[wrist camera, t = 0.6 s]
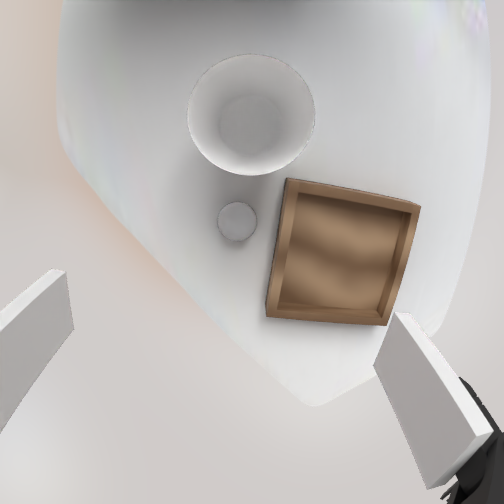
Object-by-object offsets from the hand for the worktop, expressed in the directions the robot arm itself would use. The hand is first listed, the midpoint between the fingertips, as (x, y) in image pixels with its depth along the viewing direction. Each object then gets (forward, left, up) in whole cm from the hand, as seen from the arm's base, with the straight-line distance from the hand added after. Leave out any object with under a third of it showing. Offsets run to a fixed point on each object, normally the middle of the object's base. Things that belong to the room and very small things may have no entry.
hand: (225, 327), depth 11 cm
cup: (-9, 0, -24) cm, 25 cm away
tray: (+4, +12, -24) cm, 27 cm away
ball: (+1, 0, -24) cm, 24 cm away
